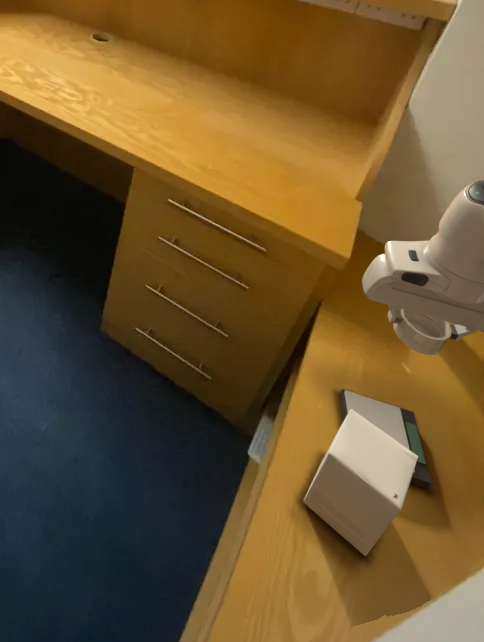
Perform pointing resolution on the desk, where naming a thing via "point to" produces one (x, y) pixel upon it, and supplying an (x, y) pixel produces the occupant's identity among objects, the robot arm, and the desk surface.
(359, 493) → the rectangular carton
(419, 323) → the bowl
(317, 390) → the desk surface
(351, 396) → the scale
